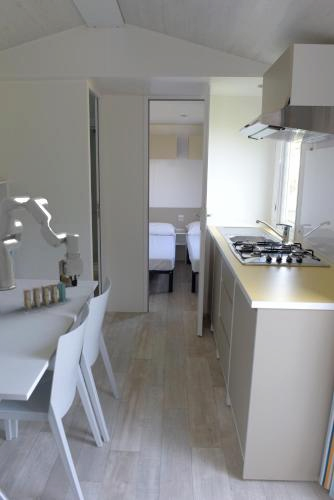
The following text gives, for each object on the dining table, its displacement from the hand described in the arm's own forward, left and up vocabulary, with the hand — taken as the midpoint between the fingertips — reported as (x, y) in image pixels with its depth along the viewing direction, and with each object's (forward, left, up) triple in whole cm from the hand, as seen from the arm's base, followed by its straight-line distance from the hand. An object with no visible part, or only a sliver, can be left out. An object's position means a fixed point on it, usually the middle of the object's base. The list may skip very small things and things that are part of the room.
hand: (74, 285), depth 219 cm
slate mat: (0, -18, -7) cm, 19 cm away
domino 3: (0, -18, -7) cm, 19 cm away
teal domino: (0, -8, -7) cm, 10 cm away
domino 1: (0, -28, -7) cm, 29 cm away
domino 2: (0, -23, -7) cm, 24 cm away
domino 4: (0, -13, -7) cm, 14 cm away
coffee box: (-24, +8, -7) cm, 26 cm away
